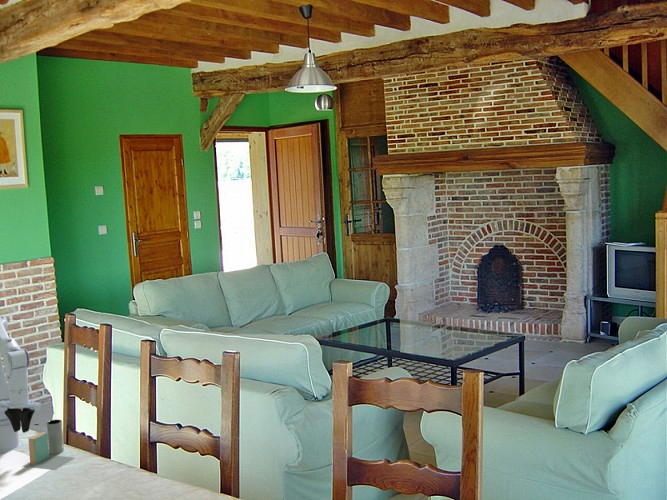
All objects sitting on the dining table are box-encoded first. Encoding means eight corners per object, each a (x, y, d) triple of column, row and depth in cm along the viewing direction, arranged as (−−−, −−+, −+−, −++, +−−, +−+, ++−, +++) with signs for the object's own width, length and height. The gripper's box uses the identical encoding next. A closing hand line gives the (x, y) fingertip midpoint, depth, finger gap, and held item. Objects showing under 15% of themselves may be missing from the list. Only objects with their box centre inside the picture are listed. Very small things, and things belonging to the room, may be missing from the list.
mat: (22, 467, 227) (21, 466, 227) (43, 456, 237) (43, 454, 237) (55, 471, 224) (55, 469, 223) (75, 459, 233) (75, 457, 233)
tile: (30, 463, 229) (28, 438, 228) (43, 456, 235) (41, 432, 234) (36, 464, 228) (34, 438, 228) (49, 457, 234) (47, 432, 233)
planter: (48, 451, 240) (46, 420, 239) (63, 449, 242) (61, 418, 241) (49, 456, 236) (47, 424, 235) (64, 453, 238) (62, 422, 237)
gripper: (-11, 391, 230) (-7, 433, 231) (29, 393, 225) (32, 437, 227) (6, 385, 236) (9, 426, 238) (44, 387, 232) (47, 429, 233)
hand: (21, 431), depth 233 cm, fingers open, 3 cm apart
